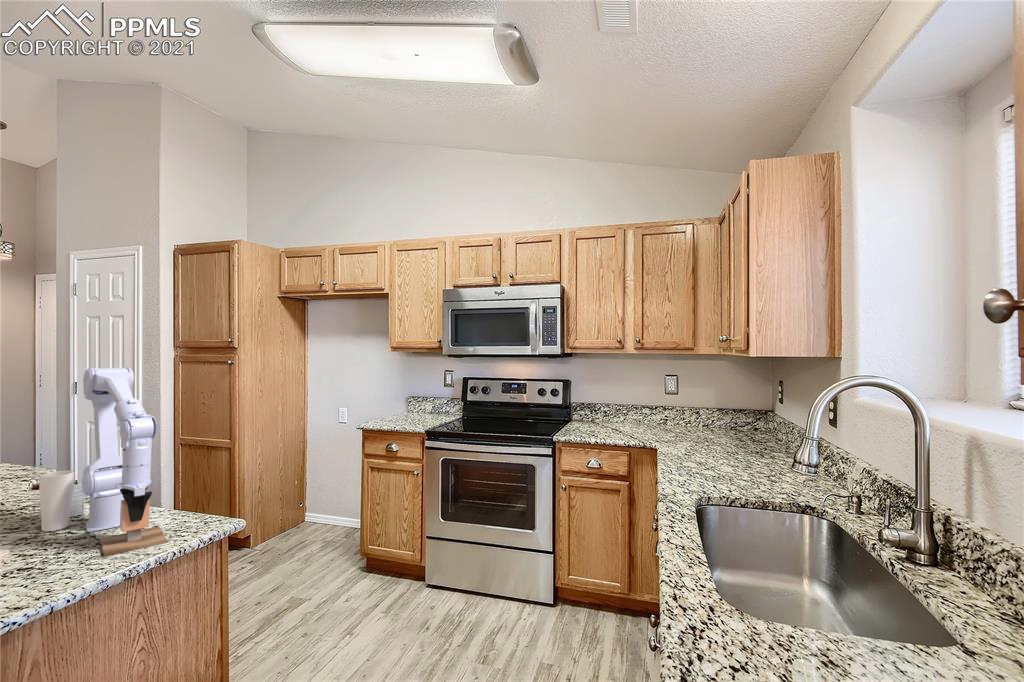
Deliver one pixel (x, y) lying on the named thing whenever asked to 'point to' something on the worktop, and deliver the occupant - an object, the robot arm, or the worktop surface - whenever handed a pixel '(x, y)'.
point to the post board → (132, 540)
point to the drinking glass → (56, 499)
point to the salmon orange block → (125, 519)
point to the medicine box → (77, 501)
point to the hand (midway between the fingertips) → (134, 517)
